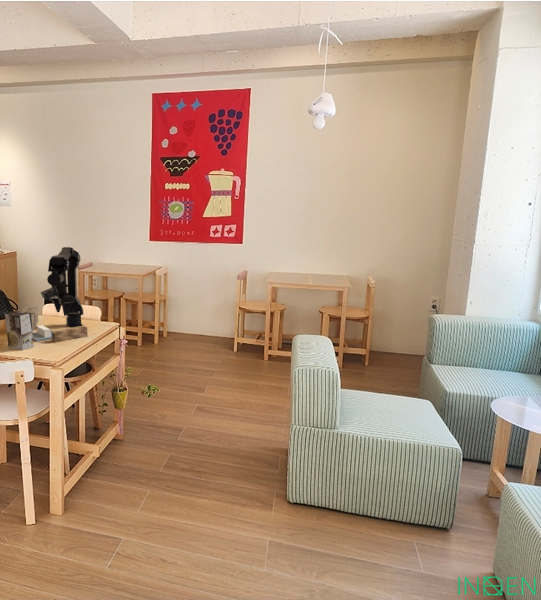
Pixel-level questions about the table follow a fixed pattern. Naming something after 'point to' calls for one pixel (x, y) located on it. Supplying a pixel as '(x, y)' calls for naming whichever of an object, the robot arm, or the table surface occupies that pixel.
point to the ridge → (42, 334)
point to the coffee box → (19, 330)
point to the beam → (69, 334)
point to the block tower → (32, 315)
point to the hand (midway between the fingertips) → (61, 313)
